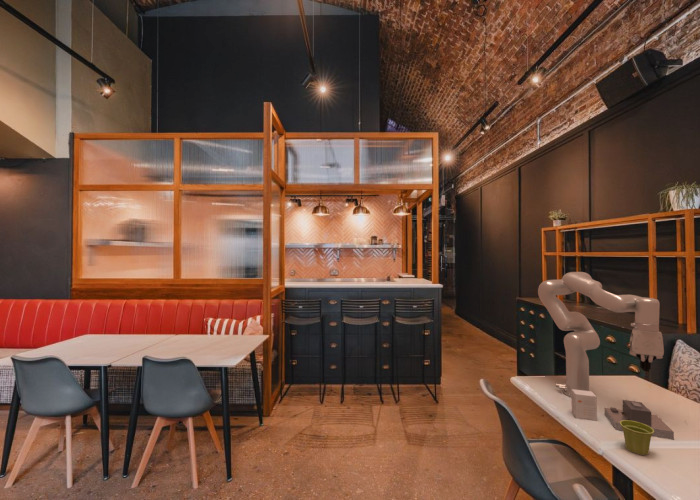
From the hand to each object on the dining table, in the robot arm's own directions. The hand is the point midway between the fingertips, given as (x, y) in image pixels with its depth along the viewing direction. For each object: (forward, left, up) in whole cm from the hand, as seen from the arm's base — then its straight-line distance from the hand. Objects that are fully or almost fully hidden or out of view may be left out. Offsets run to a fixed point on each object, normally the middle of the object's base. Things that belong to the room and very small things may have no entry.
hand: (645, 370), depth 138 cm
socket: (-5, -5, -22) cm, 23 cm away
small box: (-23, -4, -22) cm, 32 cm away
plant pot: (-12, -26, -22) cm, 36 cm away
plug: (-5, -5, -22) cm, 23 cm away
